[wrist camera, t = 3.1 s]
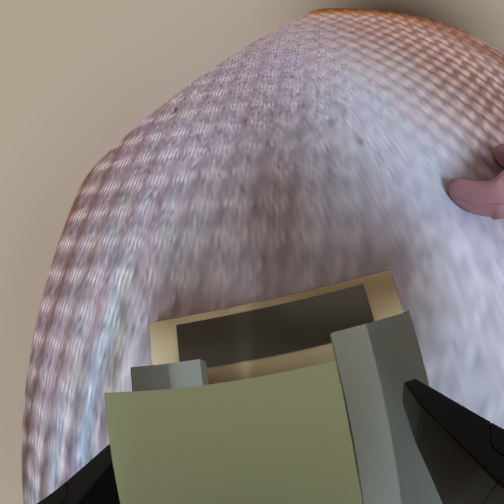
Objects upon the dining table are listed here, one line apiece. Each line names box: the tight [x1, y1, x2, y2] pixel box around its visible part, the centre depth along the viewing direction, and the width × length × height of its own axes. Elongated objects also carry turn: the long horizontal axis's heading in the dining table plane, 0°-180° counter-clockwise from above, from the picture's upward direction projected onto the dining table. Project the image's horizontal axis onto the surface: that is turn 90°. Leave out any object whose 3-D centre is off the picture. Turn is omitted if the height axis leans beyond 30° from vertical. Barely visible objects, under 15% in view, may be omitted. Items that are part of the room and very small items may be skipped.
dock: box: [131, 311, 442, 504], centre depth 12 cm, size 12×13×6 cm
